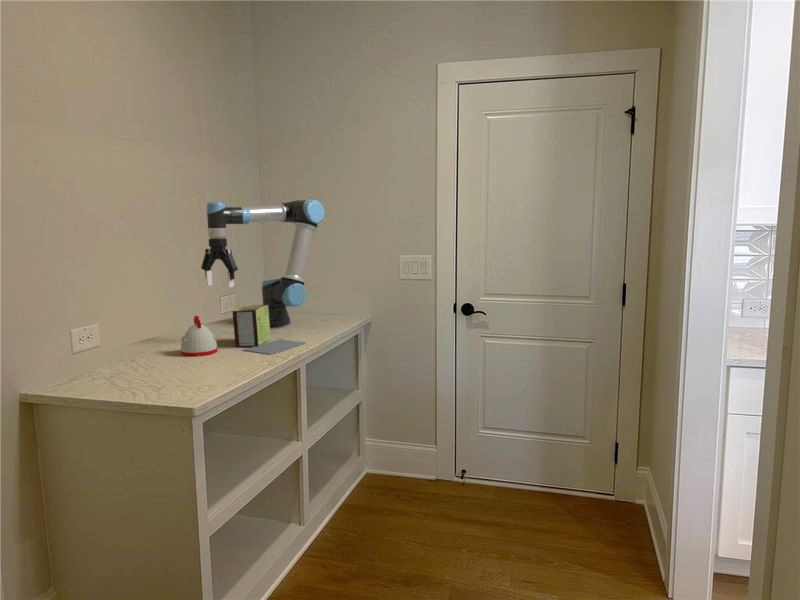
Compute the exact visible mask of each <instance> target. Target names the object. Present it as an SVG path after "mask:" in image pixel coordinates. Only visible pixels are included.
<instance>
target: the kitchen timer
mask: <svg viewBox="0 0 800 600" xmlns="http://www.w3.org/2000/svg"><path fill="white" fill-rule="evenodd" d="M193 323H194V324H193V325H192V326H190V327H189V328H188V329H187V330H186V332H185V334H184V336H181V342H180V355H181V356H182V357H190V358H191V357H192V358H195V357H206V356H209V355H210V356H211V355H213V354H214V355H215V354H217V353H218V344H217V338H216V335H215V334H214V333H213V332H212V331H211V330H210V329H209V328H208V327H207V326H206V325H204V324H202V323H201V320H200V316H198V315H194V316H193Z"/></svg>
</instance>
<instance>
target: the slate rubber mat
mask: <svg viewBox="0 0 800 600" xmlns="http://www.w3.org/2000/svg"><path fill="white" fill-rule="evenodd" d="M305 344H307V342H305V341H297V340H288V339H281V338H279V339H276V340H271V341H269V342H268V341H267V342H264V343H263V344H261V345H259V346H250V347H247V348H244V349H242V351H244V352H248V351H249V353H255V352H256V354H261V353H263V354H262V355H268V354H270V355H271V354H272V355H274V354H273V353H275V354H277V352H278V353H280V351H281V352H283V351H287V350H290V349H293V348H297V347H299V346H302V345H305ZM270 355H269V356H270ZM272 355H271V356H272Z"/></svg>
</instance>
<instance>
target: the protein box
mask: <svg viewBox="0 0 800 600" xmlns="http://www.w3.org/2000/svg"><path fill="white" fill-rule="evenodd" d="M231 312H232V321H233V332H234V342H235V343H234V345H235V347H236V348H237V347H254V346H259V345H261V344H264V343H267V342H268V341H269V340H271V326H270V324H269V311H268V305H263V304H253V305H252V304H248V305H247V304H246V305H243V306H241V307H238V308H236V309H234V310H232V311H231Z"/></svg>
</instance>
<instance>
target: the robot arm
mask: <svg viewBox="0 0 800 600" xmlns="http://www.w3.org/2000/svg"><path fill="white" fill-rule="evenodd" d="M206 218H207V231H208V232H207V234H208V235H207V236H208V247H210V248H205V249H204V251H205V252H204V257H203V260H202V263H201V267H200V268H201V270H203V271H204V274H205V275H204V276H205V277H204V278H205V281H206V286H208V287H209V286H213V273H212V268H213V266H214V263H215V262H216V260H220V261H221V262H222V263H223V264H224V266H225V268H226V269H227V273H226V274H227V287H228V288H233V287H235V272H236V271H238V270H239V269H238V266H237V263H236V261H235V259H234V258H235V257H234V256H233V253H232V252H233V251H232V249H231V248H230V249H229V248H228V249H226V248H227V246H228V243H227V242H228V240H227V238H226V237H227V227H226V226H227V225H247V224H249V223H259V222H261V223H263V222H274V221H275V222H276V221H278V222H279V223H292V224H293V225H294V227H295V231H294V234H293V239H292V244H291V248H290V253H289V256H288V261H287V263H286V265H287V266H286V269H285V273H284V275H282V276H281V277H280V278H275V279H266V280H263V281H262V283H261V294H262V305H268V311H269V324H270V327H281V326H285V325H289V324H291V317H290V315H289V312H288V310H287V307H288V308H296V307H299V306H301V305H302V304H303V303H304V302H305V300H306V298H307V290H306V287H305V280H304V279H303V277H304V273H305V269H306V265H307V259H308V255H309V251H310V246H311V242H312V237H313V234H314V231H316V230H317V229H318V226H319V225H318V224H320V223H322V222H323V220H324V219H325V208H324V207H323V205H322V203H321V202H320V201H319V200H316V199H310V198H309V199H297V200H293V201H287V202H280V203H279V202H278V203H277V204H276V205H275V204H273V205H258V206H257V205H256V206H255V205H254V206H237V207H236V206H234V207H233V206H231V207H230V206H226V204H225V202H220V201H217V202H216V201H215V202H214V201H211V202H208V203H207V204H206Z"/></svg>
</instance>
